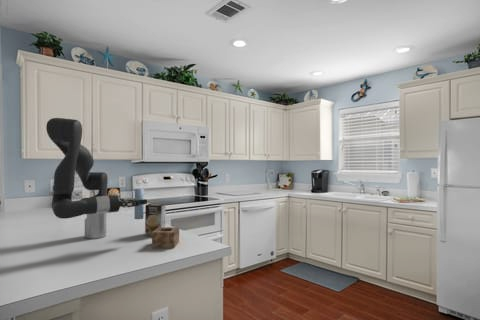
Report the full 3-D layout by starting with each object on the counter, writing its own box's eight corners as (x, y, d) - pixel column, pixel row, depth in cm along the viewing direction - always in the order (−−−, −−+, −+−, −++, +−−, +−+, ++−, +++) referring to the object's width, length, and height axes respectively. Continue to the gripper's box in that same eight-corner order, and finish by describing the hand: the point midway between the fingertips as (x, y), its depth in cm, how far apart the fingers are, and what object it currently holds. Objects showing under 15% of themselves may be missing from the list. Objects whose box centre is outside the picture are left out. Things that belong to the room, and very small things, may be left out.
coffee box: (144, 235, 148) (144, 205, 148) (149, 232, 154) (149, 203, 154) (161, 236, 147) (161, 205, 147) (165, 233, 153) (165, 203, 153)
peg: (133, 219, 131) (133, 189, 131) (136, 217, 135) (136, 188, 135) (141, 219, 131) (141, 189, 131) (144, 217, 135) (144, 188, 135)
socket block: (151, 247, 126) (152, 232, 126) (158, 241, 136) (158, 227, 136) (174, 248, 126) (174, 232, 126) (179, 241, 136) (179, 227, 136)
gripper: (111, 197, 119) (150, 194, 130) (102, 194, 130) (139, 192, 141) (111, 215, 119) (150, 210, 130) (102, 210, 130) (139, 207, 141)
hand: (144, 201), depth 135 cm, fingers closed on peg, 4 cm apart
